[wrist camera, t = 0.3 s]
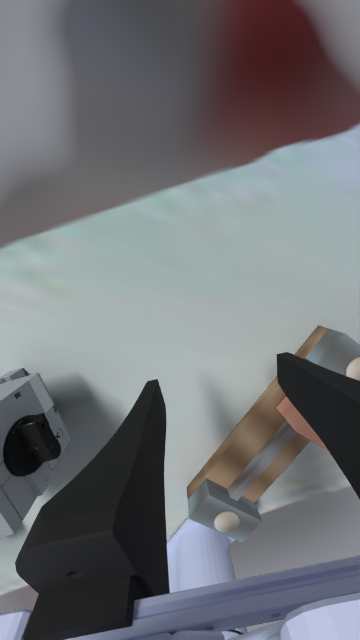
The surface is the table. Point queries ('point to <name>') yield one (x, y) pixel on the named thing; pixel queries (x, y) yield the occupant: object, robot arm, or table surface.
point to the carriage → (298, 422)
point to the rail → (261, 446)
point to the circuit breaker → (26, 444)
